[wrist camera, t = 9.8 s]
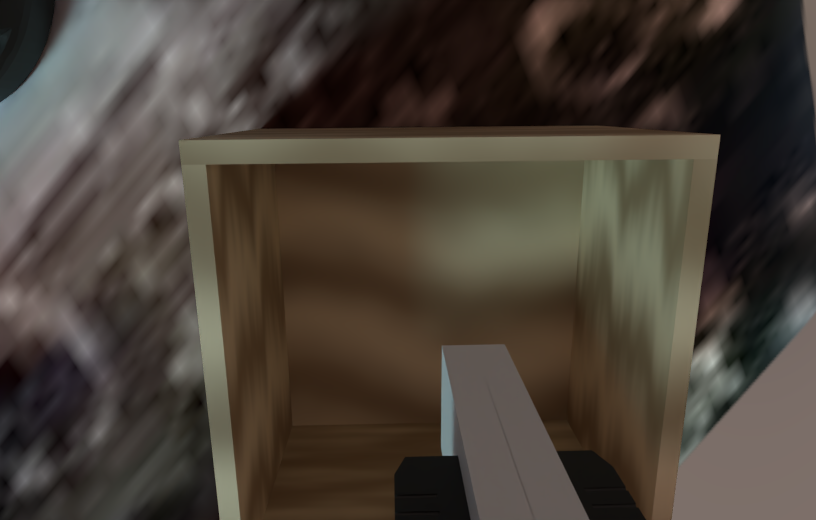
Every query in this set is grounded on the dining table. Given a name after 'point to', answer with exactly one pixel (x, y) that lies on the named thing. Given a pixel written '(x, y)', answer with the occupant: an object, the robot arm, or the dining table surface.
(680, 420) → the wooden box
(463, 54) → the dining table surface
